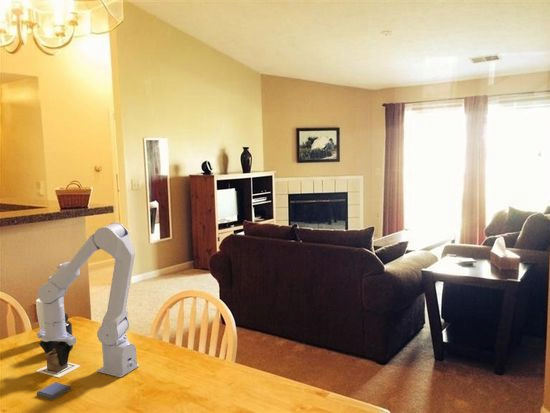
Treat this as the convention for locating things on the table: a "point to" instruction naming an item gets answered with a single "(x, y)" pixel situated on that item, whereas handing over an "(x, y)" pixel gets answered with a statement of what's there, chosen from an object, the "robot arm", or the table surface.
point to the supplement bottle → (68, 327)
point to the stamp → (54, 362)
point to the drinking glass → (40, 314)
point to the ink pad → (53, 391)
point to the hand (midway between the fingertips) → (58, 363)
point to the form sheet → (61, 373)
